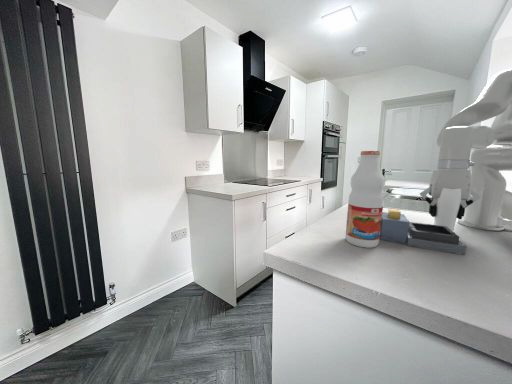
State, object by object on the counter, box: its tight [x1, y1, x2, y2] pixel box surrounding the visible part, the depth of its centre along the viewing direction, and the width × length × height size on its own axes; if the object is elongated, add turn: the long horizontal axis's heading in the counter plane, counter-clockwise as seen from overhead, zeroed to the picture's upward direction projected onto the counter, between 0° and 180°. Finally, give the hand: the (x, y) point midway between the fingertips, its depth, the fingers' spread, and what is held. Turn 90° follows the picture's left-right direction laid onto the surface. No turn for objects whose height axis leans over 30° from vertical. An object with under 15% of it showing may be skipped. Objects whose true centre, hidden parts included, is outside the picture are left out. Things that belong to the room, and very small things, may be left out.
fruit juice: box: [345, 150, 386, 249], centre depth 64 cm, size 9×9×28 cm
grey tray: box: [379, 208, 467, 256], centre depth 68 cm, size 22×13×9 cm, turn 64°
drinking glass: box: [433, 188, 461, 232], centre depth 73 cm, size 7×7×15 cm
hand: (445, 216), depth 74 cm, fingers closed on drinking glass, 6 cm apart
